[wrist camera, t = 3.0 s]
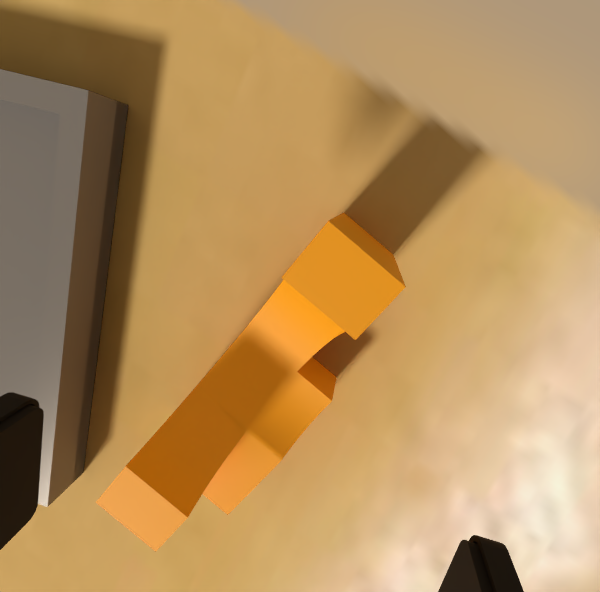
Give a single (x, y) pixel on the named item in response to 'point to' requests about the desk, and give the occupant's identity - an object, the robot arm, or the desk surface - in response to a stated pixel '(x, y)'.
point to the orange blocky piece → (257, 387)
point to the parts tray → (55, 255)
